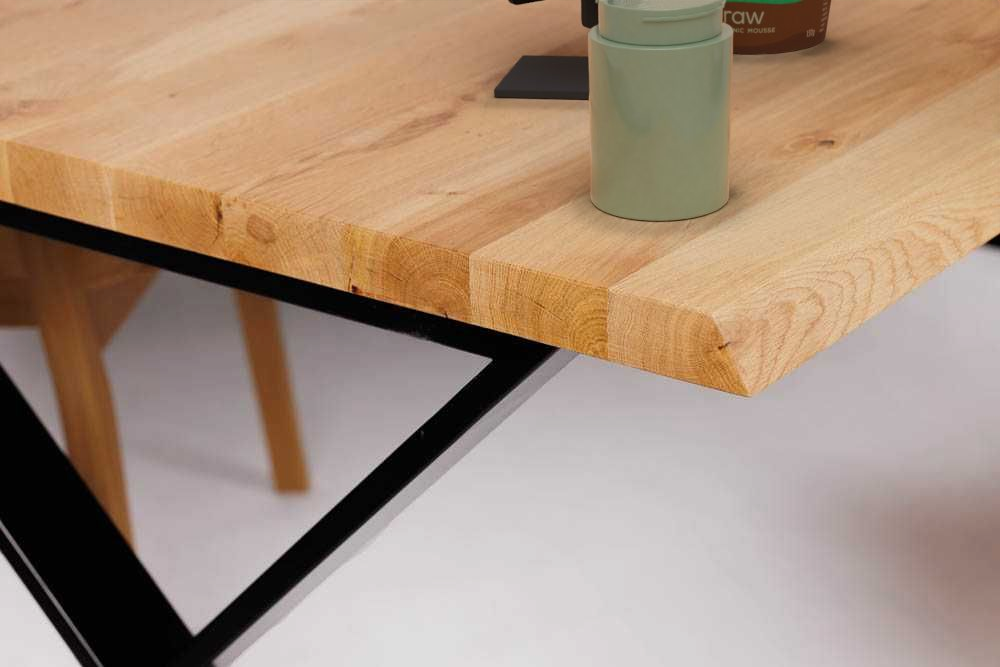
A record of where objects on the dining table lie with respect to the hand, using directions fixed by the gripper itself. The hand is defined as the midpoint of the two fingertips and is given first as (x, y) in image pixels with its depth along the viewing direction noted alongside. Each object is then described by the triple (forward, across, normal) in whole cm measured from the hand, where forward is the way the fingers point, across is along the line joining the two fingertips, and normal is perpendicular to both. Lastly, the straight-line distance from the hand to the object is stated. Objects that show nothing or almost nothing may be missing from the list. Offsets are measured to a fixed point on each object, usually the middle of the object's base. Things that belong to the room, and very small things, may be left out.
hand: (567, 10), depth 87 cm
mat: (+4, 0, 0) cm, 4 cm away
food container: (+4, -1, -14) cm, 14 cm away
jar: (+4, -20, +8) cm, 22 cm away
